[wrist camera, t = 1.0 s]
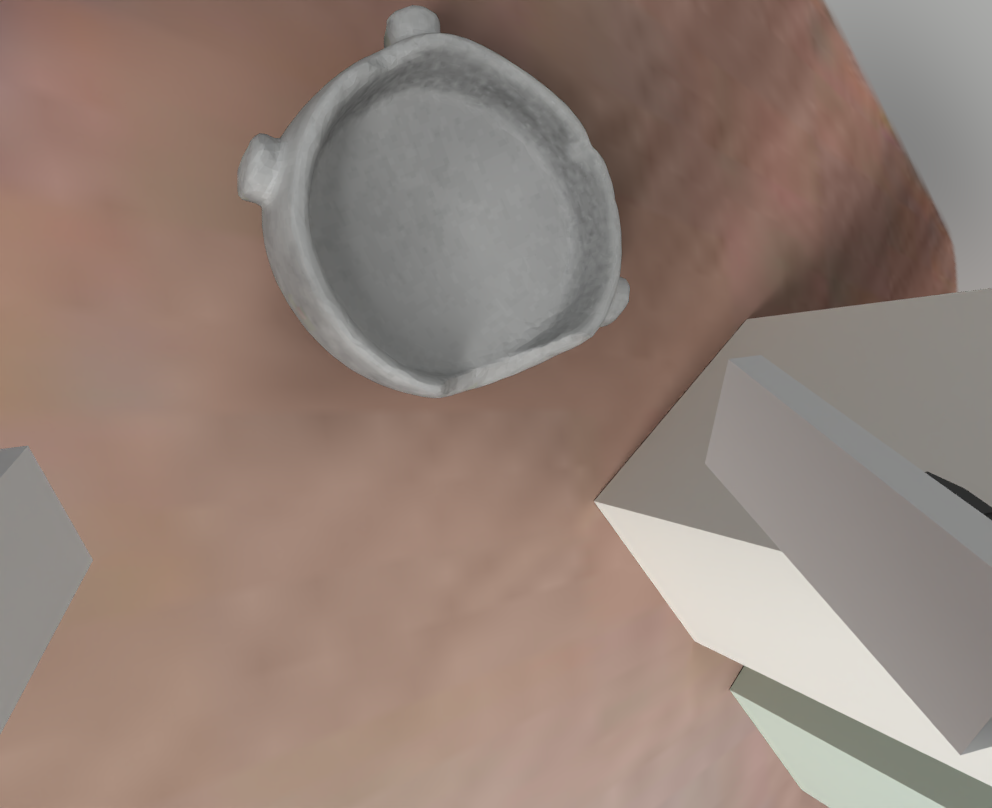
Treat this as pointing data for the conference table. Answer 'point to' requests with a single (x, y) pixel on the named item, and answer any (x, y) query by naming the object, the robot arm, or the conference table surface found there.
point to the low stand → (850, 754)
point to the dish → (438, 215)
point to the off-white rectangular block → (743, 543)
